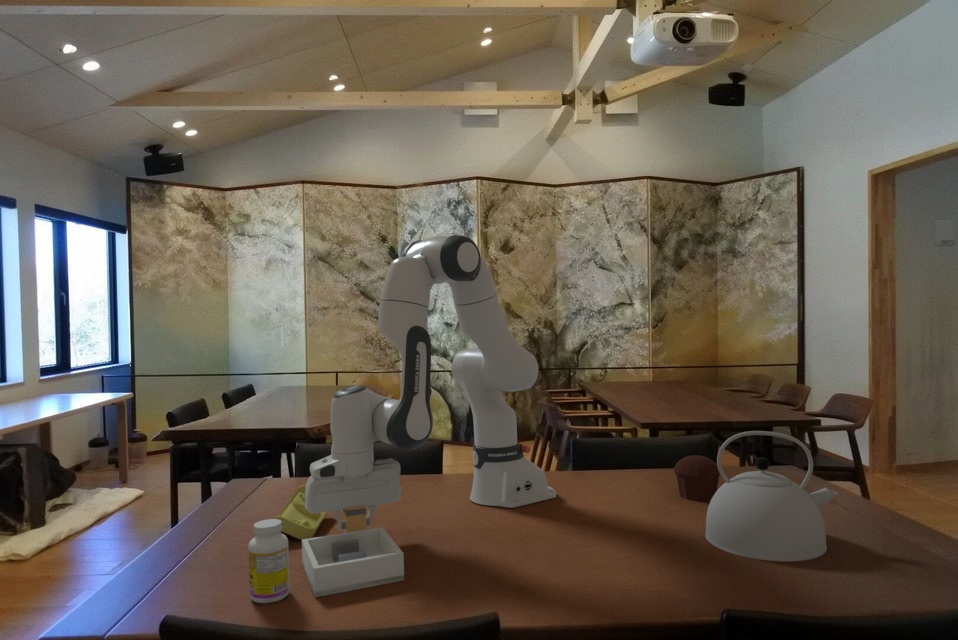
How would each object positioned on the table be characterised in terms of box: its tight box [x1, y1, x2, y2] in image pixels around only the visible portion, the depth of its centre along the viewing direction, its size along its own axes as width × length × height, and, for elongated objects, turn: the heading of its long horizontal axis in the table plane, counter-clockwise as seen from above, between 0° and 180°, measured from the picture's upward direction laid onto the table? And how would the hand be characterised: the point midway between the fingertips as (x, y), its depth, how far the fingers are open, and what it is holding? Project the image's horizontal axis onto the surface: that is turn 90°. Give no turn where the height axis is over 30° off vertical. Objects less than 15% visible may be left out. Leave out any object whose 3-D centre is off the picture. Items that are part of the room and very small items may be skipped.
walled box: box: [301, 526, 405, 598], centre depth 123 cm, size 16×16×5 cm
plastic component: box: [273, 484, 327, 541], centre depth 150 cm, size 20×7×10 cm
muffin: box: [673, 454, 721, 502], centre depth 165 cm, size 12×11×10 cm
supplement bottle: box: [247, 518, 291, 604], centre depth 113 cm, size 7×7×13 cm
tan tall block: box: [342, 506, 367, 533], centre depth 139 cm, size 4×4×8 cm
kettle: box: [705, 430, 839, 562], centre depth 133 cm, size 25×23×23 cm
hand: (354, 527), depth 139 cm, fingers closed on tan tall block, 4 cm apart
